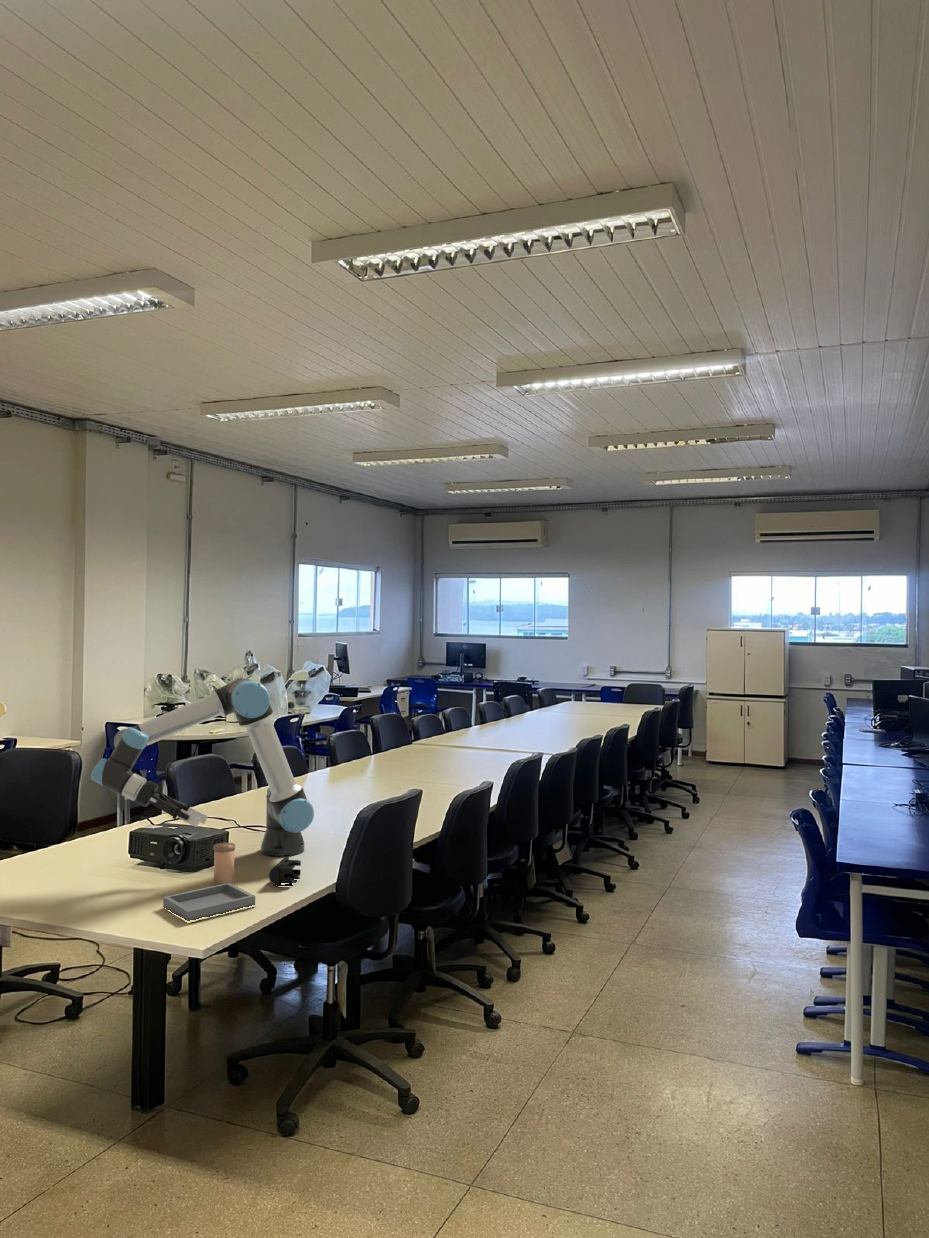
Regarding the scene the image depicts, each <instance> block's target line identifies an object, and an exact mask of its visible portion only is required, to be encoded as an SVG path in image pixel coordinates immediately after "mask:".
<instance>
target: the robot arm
mask: <svg viewBox="0 0 929 1238" xmlns="http://www.w3.org/2000/svg"><path fill="white" fill-rule="evenodd" d="M270 696H271V695H270V693H269V691H268V689H267V688H266V686H264V685H263V684H262V683H261V682H258V681H257V680H252V679H249V678H238V679H235V680H232V681H231V682H229V683H227V684H225V685H223V686H221V687H219V688H216V689H213V690H212V691H211V693H210V695H207V696H205V697H202V698H200V699H198V700H195V701H193V702H191V703H188V704H185V705H183V706H180V707H178V708H175V709H174V710H170V711H168V712H166V713H164V714H161V715H159V716H156V717H154V718H152V719H149V720H146V721H144V722H142V723H140V724H137V725H136V726H135V725H134V726H129V727H127V728H124V729H121V730H119V731H117V733H116V734H115V735H114V737H113V748H114V749H113V751H112V752H111V755H110V756H109V757H108V758H105V757H104V758H103V757H102V758H101V759H100V760H98V762H97V763H96V764H95V765H94V767H93V769H92V771H91V775H90V777H91V780H92V781H93V782H95V783H97V784H98V785H100V786H101V787H103V788H105V789H108V790H110V791H112V792H114V793H116V794H119V795H120V796H123V797H124V800H126V801H127V800H128V799H129V800H131V801H132V802H134V801H135V803H136V804H138V805H140V806H142V807H143V808H146V807H148V806H149V805H152V806H154V807H155V808H158V809H160V810H161V811H163V812H164V813H166V814H168V815H169V816H170V817H172V819H173V820H176V819H177V818H178V819H179V820H182V821H183V822H185V823H187V824H189V825H191V826H193V827H195V828H197V827H198V825H199V824H200V823H201V824H203V825H205V823H206V821H207V820H208V818H209V816H208V815H207V814H205V813H204V812H201V811H199V810H197V809H195V808H193V807H192V804H191V803H188V804H187V803H184V802H181V801H179V800H177V799H175V798H173V797H170V796H168V795H167V794H165V793H160V794H159V793H157V792H158V790H159V784H157V783H155V782H153V781H152V780H147V778H146V777H144V776H141V775H139V774H137V773H136V772H133V771H132V769H133V768H134V766H135V764H136V763H137V760H138V759H139V757H140V755H141V754H142V752H143V750H144V749H145V748H146V747H148V746H149V745H152V744H154V743H156V742H159V741H161V740H163V739H166V738H168V737H171V736H173V735H176V734H178V733H181V732H182V731H185V730H187V729H190V728H192V727H195V726H197V725H199V724H202V723H204V722H207V721H209V720H211V719H214V718H216V717H218V716H221V717H225V716H228V715H231V714H235V718H236V719H237V722H238V724H239V727H241V728H244V729H245V730H246V732H247V734H248V737H249V740H250V742H251V745H252V747H253V751H255V755H256V758H257V759H258V762H259V764H260V765H259V766H260V767H261V770H262V772H263V774H264V777H265V780H266V782H267V784H268V788H267V790H266V795H265V798H266V820H265V821H266V822H265V823H266V824H265V825H266V828H265V833H264V835H263V838H262V842H261V844H260V853H261V852H262V853H263V855H265V856H269V855H276V856H275V857H285V856H284V855H290V856H294V855H299V854H301V852H302V853H303V852H304V851H305V840H304V837H303V835H302V832H303V831H305V830H306V829H307V828H309V827H310V825H311V824H312V822H313V821H314V817H315V810H314V807H313V805H312V804H311V802H310V801H309V800H308V798H307V796H306V793H305V790H304V788H303V786H302V784H299V783H297V782H296V779H295V776H294V774H293V773H292V770H291V768H290V765H289V762H288V759H287V757H286V754H285V752H284V748H283V746H282V743H281V742H280V738H279V737H278V734H277V731H276V729H275V725H274V724H273V720H272V717H273V715H274V711H273V708H272V705H271V698H270ZM262 853H261V854H262ZM281 855H282V856H281Z"/></svg>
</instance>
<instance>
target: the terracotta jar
mask: <svg viewBox="0 0 929 1238" xmlns="http://www.w3.org/2000/svg"><path fill="white" fill-rule="evenodd" d="M235 850H236V844H235V843H232V842H219V843H216V844H214V845H213V851H214V852H213V854H214V855H213V859H214V860H213V886H216V885H220V884H225V883H231V884H233V883H234V884H235ZM234 884H233V885H234Z"/></svg>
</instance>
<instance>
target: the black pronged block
mask: <svg viewBox="0 0 929 1238" xmlns="http://www.w3.org/2000/svg"><path fill="white" fill-rule="evenodd" d="M301 861H302V860H300V859H298V860H297V859H290V857H289V856H285V857H284V858H282V859H281V860H280V861H278V863H276V864H275V865H274V866H273V867H272V868H271V869H270V870H269V873H268V875H269V876H268V878H269V880H270V882H271V883H272V884H273V885H274V886H276V885H277V886H293V885H292V883H296V882H297V880H294V879H301V877H300V876H301V875H302V874H301V871H302V869H299V868H297V869H295V867H296V866H297V867H301V865H302V862H301ZM281 883H289V884H285V885H281ZM297 883H298V882H297ZM297 883H296V884H297ZM277 886H276V887H277ZM293 887H294V886H293Z"/></svg>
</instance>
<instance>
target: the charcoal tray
mask: <svg viewBox="0 0 929 1238" xmlns="http://www.w3.org/2000/svg"><path fill="white" fill-rule="evenodd" d="M162 901H163V904H162V905H163V906H162V907H164V908H166V909H167V910H170V911H171V912H172V913H174V914H176V915H178V916H180V917H182V918H184V919H185V920H187V921H190V920H196V919H199V918H202V917H210V916H213V915H216V914H223V913H226V912H229V911H232V910H237V909H240V908H243V907H249V906H252V905H255V906H256V895H254V894H252V893H250V892H248V891H246V890H244V889H242V888H240V887H238V886H236V885H235V884H231V883H225V884H220V885H216V886H214V885H212V886H208V887H202V888H198V889H193V890H188V891H184V892H180V893H175V894H170V895H166V896H163V899H162ZM164 908H163V909H164ZM167 910H166V911H167ZM172 913H171V914H172Z"/></svg>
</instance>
